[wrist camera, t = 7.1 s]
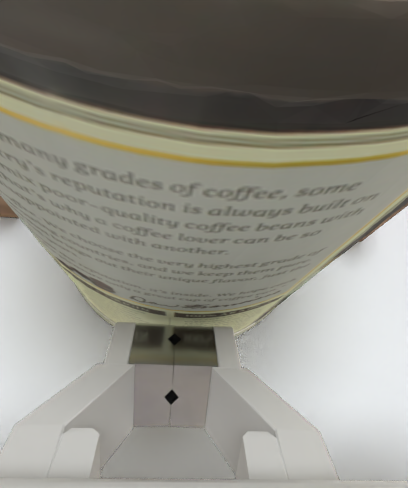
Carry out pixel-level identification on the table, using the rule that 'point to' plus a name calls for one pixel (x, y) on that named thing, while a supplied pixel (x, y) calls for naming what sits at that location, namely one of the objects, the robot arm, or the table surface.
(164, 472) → the table surface
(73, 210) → the coffee can
